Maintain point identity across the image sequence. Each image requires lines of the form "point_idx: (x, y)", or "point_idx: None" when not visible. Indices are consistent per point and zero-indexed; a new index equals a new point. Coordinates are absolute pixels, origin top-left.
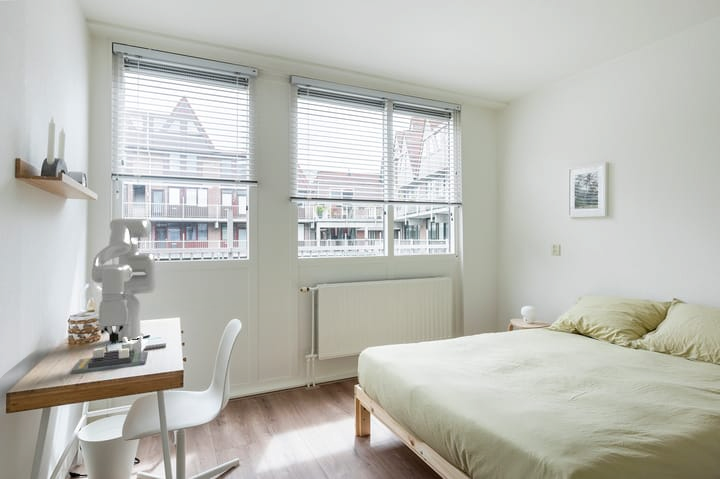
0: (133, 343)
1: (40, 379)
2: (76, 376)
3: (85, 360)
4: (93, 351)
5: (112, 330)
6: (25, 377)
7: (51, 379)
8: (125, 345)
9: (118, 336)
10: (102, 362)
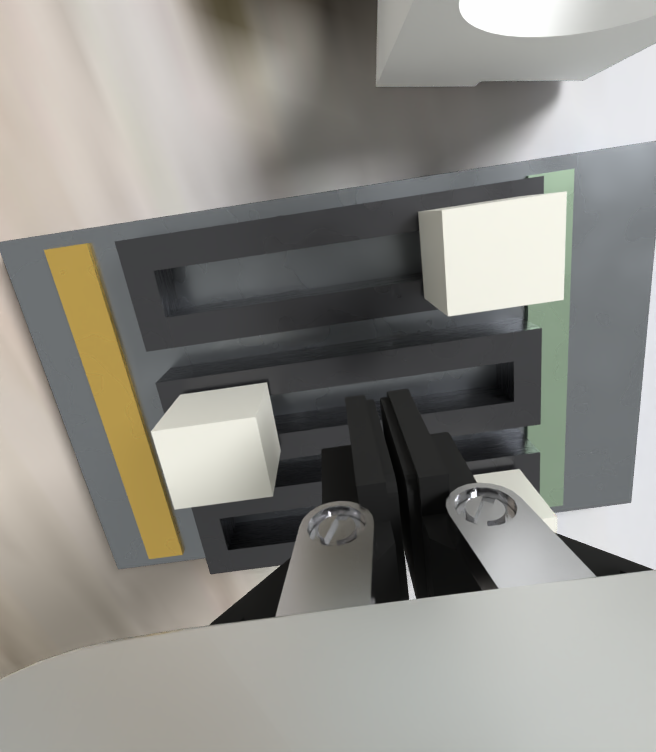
0: (555, 35)
1: None
2: (194, 610)
3: (88, 331)
4: (179, 505)
5: (375, 546)
6: None
7: (56, 622)
8: (487, 308)
9: (461, 467)
10: None
